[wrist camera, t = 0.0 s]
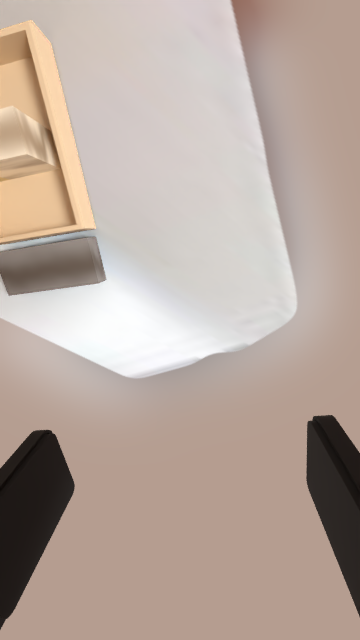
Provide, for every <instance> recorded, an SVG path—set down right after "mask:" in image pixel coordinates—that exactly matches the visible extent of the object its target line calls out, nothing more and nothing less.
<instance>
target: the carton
mask: <svg viewBox="0 0 360 640" xmlns="http://www.w3.org/2000/svg"><path fill="white" fill-rule="evenodd" d="M9 106H14V107H15V108H17V109H18V110H20V111H21V112H23V113H24V114H26V115H27V116H29V117H30V118H32V119H34V120H35V121H37V122H38V123H40V124H41V125H43V126H44V127H46V128H47V129H49V130H50V131H51V134H52V137H53V141H54V145H55V149H56V153H57V156H58V160H59V164H60V168H61V169H58V170H53V171H48V172H44V173H39V174H34V175H29V176H25V177H20V178H15V179H10V180H6V181H1V182H0V245H2V244H10V243H15V242H21V241H27V240H33V239H39V238H45V237H51V236H57V235H62V234H68V233H74V232H80V231H86V230H92V229H96V226H95V222H94V218H93V214H92V210H91V206H90V202H89V197H88V193H87V189H86V185H85V181H84V177H83V173H82V169H81V164H80V160H79V156H78V152H77V148H76V144H75V140H74V136H73V131H72V127H71V123H70V119H69V115H68V111H67V107H66V103H65V98H64V94H63V90H62V86H61V82H60V78H59V74H58V70H57V65H56V61H55V57H54V53H53V49H52V45H51V43H50V42H49V40H48V39H47V38H46V37H45V36H44V34H43V33H42V32H41V31H40V29H39V28H38V27H37V26H36V24H35V23H34V22H33V21H32V20H29V21H26V22H23V23H20V24H16V25H13V26H10V27H7V28H3V29H0V109H2V108H6V107H9Z"/></svg>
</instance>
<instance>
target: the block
mask: <svg viewBox="0 0 360 640" xmlns="http://www.w3.org/2000/svg"><path fill="white" fill-rule="evenodd" d="M58 169H61V168H60V164H59V160H58V156H57V153H56V149H55V145H54V141H53V137H52V134H51V131H50V130H49V129H47V128H46V127H44V126H43V125H41V124H40V123H38V122H37V121H35V120H34V119H32V118H30V117H29V116H27V115H26V114H24V113H23V112H21V111H20V110H18V109H17V108H15V107H14V106H9V107H6V108H2V109H0V182H1V181H6V180H10V179H15V178H20V177H25V176H29V175H34V174H39V173H44V172H48V171H53V170H58Z"/></svg>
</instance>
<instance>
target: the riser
mask: <svg viewBox="0 0 360 640" xmlns="http://www.w3.org/2000/svg"><path fill="white" fill-rule="evenodd" d="M0 274H1V276H2V279H3V281H4V284H5V287H6V289H7V292H8V295H9V296H10V295H17V294H24V293H32V292H39V291H46V290H53V289H61V288H68V287H75V286H82V285H90V284H97V283H100V282H102V281H105V280H106V276H105V272H104V268H103V264H102V260H101V256H100V252H99V247H98V243H97V239H96V237H88V238H81V239H75V240H69V241H63V242H57V243H51V244H45V245H39V246H33V247H27V248H21V249H15V250H9V251H3V252H0Z"/></svg>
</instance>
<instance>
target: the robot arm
mask: <svg viewBox="0 0 360 640" xmlns="http://www.w3.org/2000/svg"><path fill="white" fill-rule="evenodd" d="M307 485H308V489H309V491H310V494H311V497H312V499H313V501H314V504H315V506H316V509H317V511H318V514H319V516H320V519H321V521H322V524H323V526H324V529H325V531H326V534H327V536H328V539H329V541H330V544H331V546H332V549H333V551H334V554H335V556H336V559H337V561H338V564H339V566H340V569H341V571H342V574H343V576H344V579H345V581H346V584H347V586H348V588H349V591H350V594H351V596H352V599H353V601H354V603H355V606H356V609H357V611H358V614H359V616H360V453H359V451H358V450H357V449H356V447H355V446H354V444H353V443H352V441H351V440H350V439H349V437H348V436H347V434H346V433H345V431H344V430H343V428H342V427H341V426H340V424H339V423H338V421H337V420H336V419H335V417H334V416H332V415H326V416H314V417H313V420H312V421H308V425H307ZM73 491H74V481H73V479H72V476H71V474H70V471H69V468H68V466H67V463H66V461H65V458H64V455H63V453H62V450H61V448H60V445H59V443H58V440H57V437H56V435H55V434H53V433H52V431H50V430H37V431H33V432H32V433H31V434H30V435H29V436H28V437H27V438H26V440H25V441H24V442H23V443H22V444H21V445H20V446H19V448H18V449H17V450H16V451H15V452H14V454H13V455H12V456H11V457H10V458H9V459H8V460H7V462H6V463H5V464H4V465H3V466H2V467H1V468H0V629H1V627H2V625H3V623H4V622H5V620H6V619H7V618H8V617H9V616H10V615H11V614H12V613H13V611H14V609H15V607H16V605H17V603H18V601H19V599H20V597H21V595H22V593H23V591H24V590H25V587H26V586H27V584H28V582H29V580H30V577H31V576H32V573H33V572H34V570H35V567H36V566H37V564H38V562H39V560H40V558H41V556H42V554H43V552H44V550H45V548H46V546H47V544H48V542H49V540H50V538H51V536H52V534H53V532H54V530H55V528H56V526H57V524H58V522H59V520H60V518H61V516H62V514H63V512H64V510H65V508H66V507H67V504H68V503H69V501H70V499H71V497H72V495H73Z"/></svg>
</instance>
